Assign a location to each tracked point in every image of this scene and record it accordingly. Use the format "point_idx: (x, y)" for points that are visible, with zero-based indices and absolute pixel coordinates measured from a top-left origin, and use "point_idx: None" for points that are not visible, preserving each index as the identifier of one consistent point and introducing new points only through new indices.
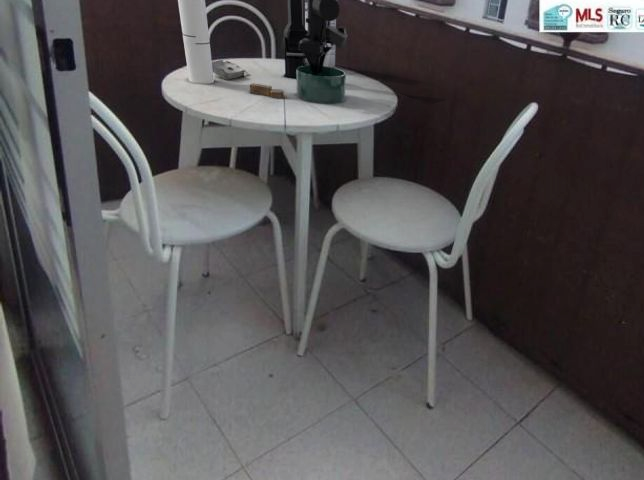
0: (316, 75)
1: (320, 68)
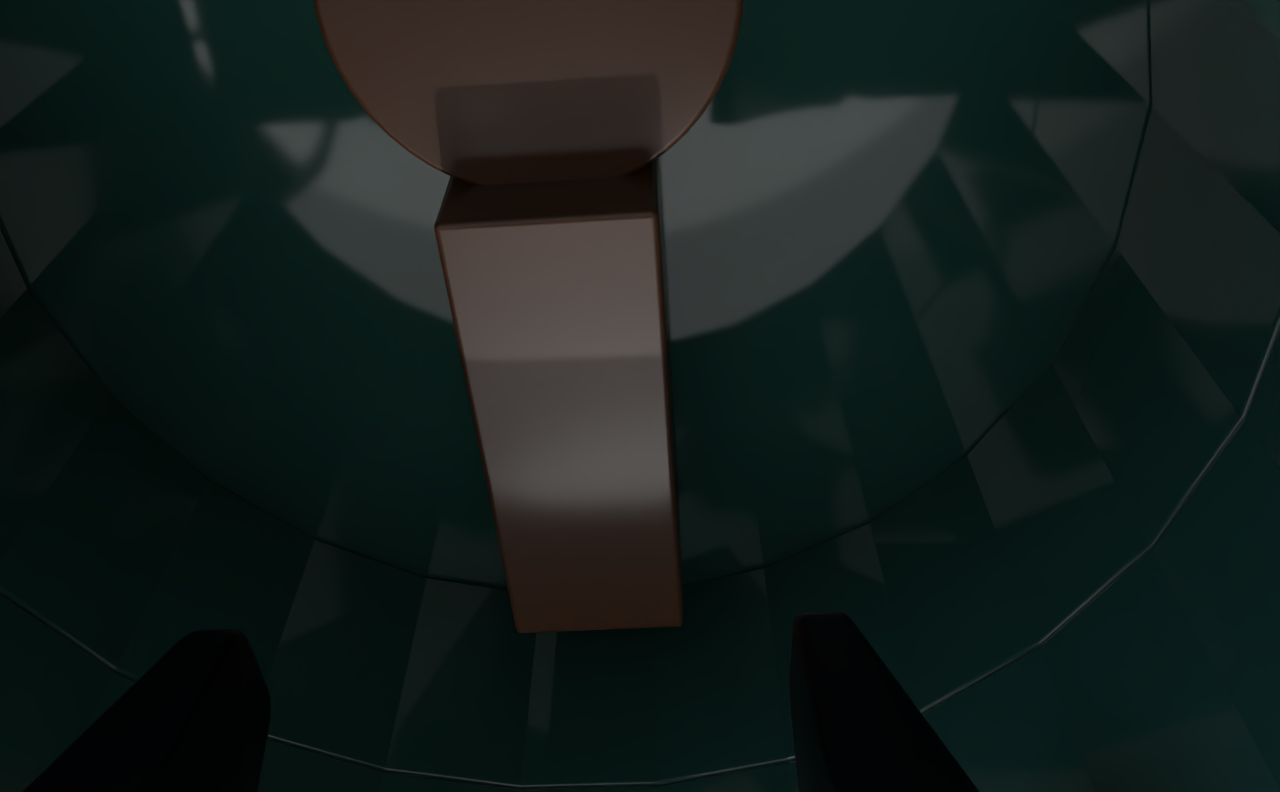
0: (844, 622)
1: (199, 768)
